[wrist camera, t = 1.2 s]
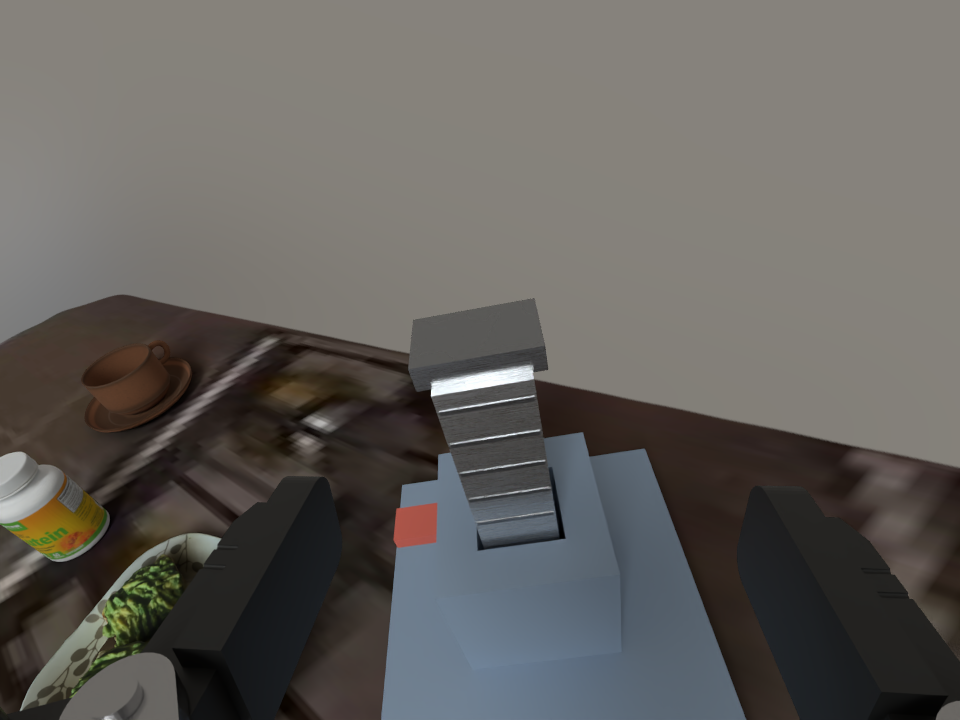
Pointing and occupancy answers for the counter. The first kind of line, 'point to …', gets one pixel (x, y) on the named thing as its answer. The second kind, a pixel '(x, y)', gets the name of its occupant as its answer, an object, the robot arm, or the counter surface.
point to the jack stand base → (551, 606)
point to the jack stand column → (491, 415)
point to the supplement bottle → (48, 508)
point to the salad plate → (123, 616)
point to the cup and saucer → (133, 386)
